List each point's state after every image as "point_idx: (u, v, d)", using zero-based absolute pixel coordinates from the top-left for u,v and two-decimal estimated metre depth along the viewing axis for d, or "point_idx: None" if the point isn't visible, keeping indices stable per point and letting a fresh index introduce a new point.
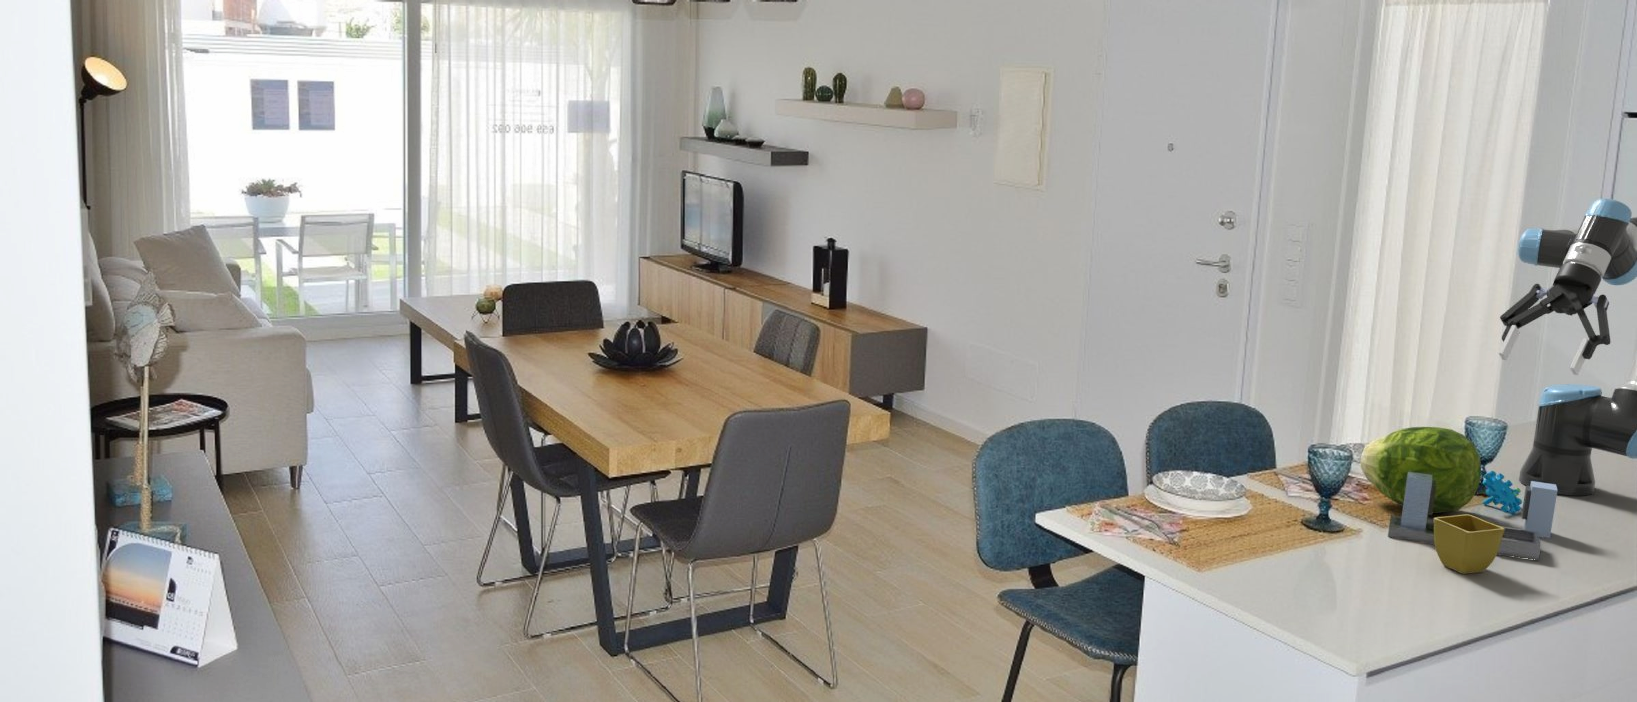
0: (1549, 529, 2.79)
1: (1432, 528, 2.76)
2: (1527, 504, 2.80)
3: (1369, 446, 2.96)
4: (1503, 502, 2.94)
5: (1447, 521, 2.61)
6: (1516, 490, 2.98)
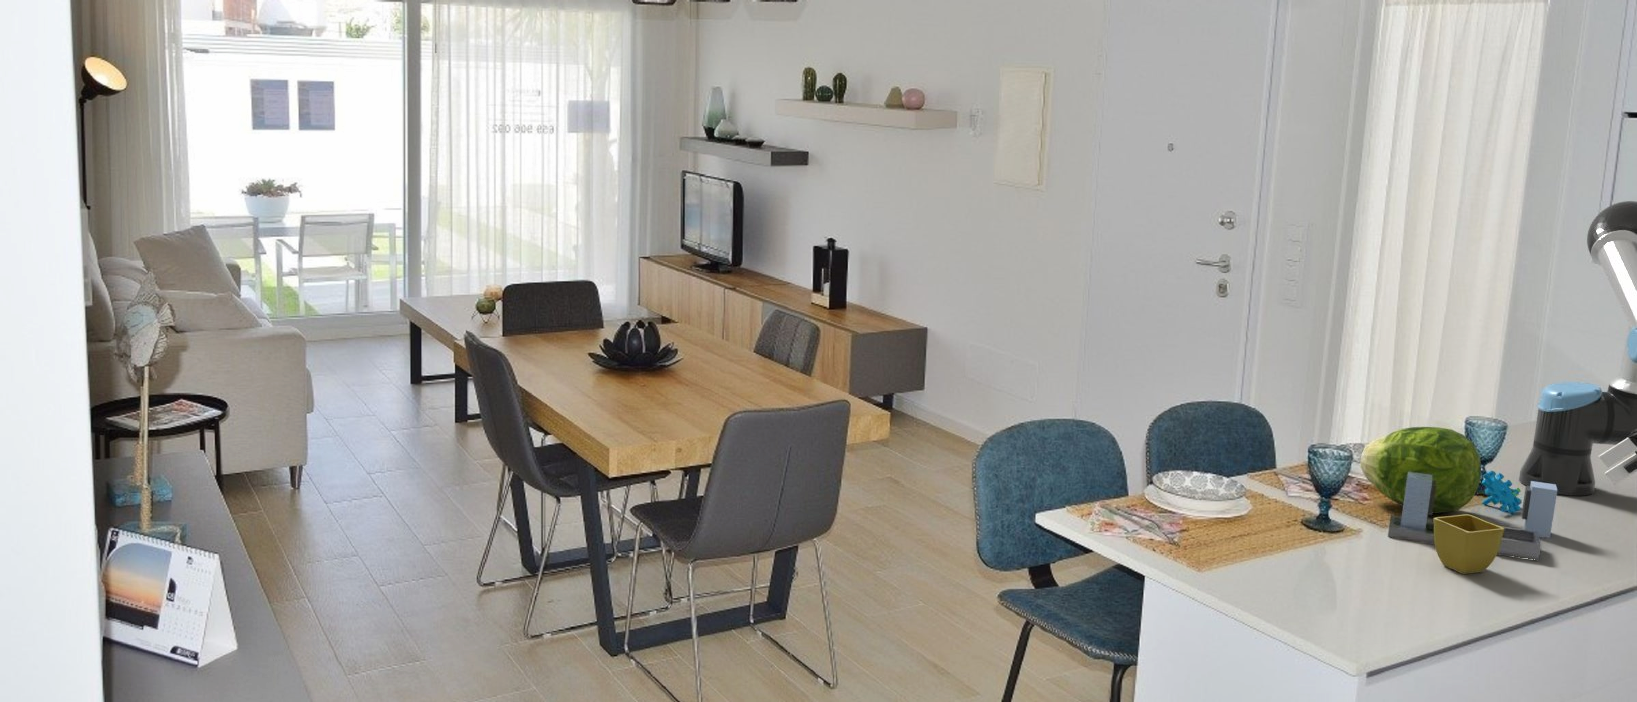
0: (1549, 529, 2.79)
1: (1432, 528, 2.76)
2: (1527, 504, 2.80)
3: (1369, 446, 2.96)
4: (1502, 502, 2.94)
5: (1447, 521, 2.61)
6: (1516, 490, 2.98)
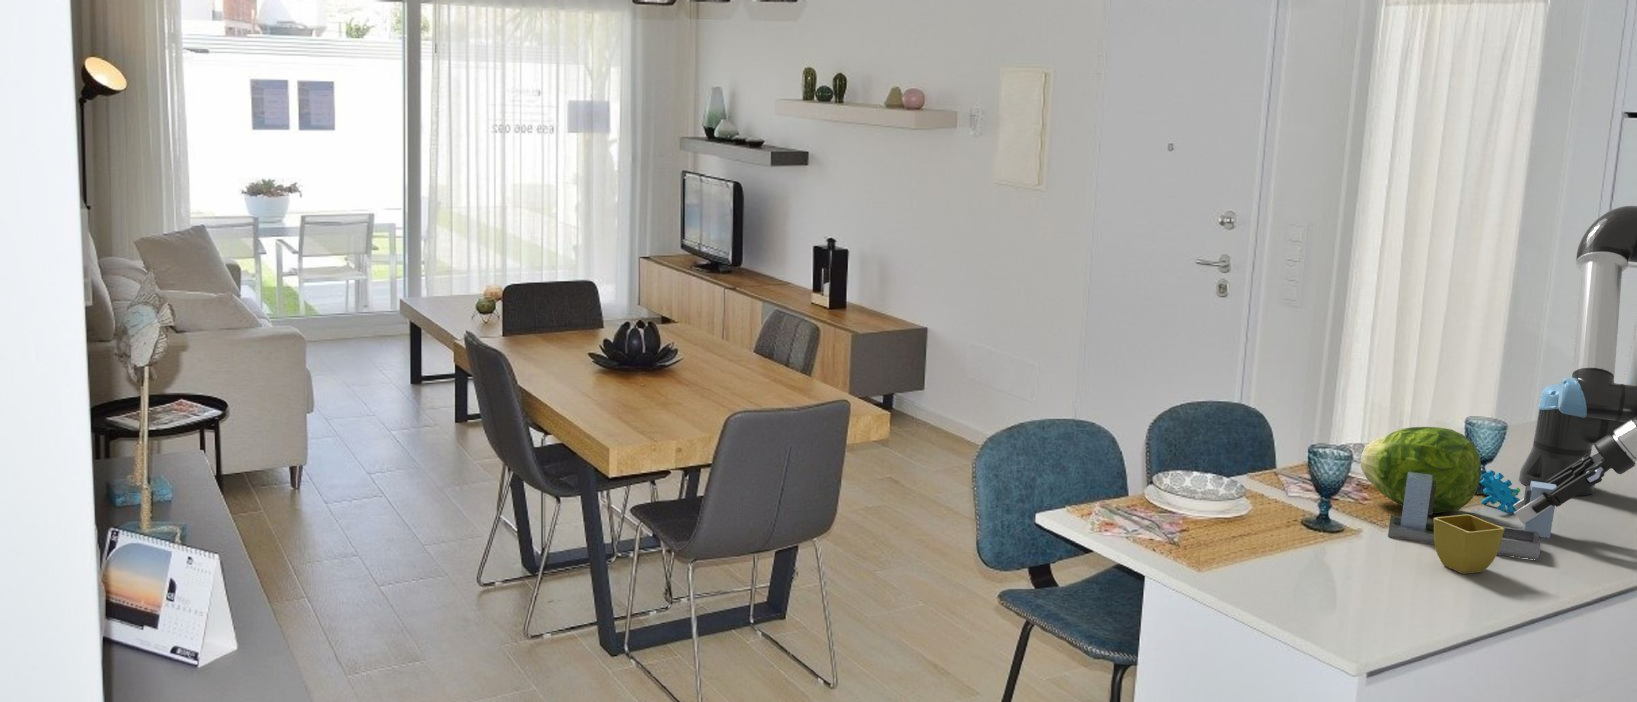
0: (1549, 529, 2.79)
1: (1432, 528, 2.76)
2: None
3: (1369, 446, 2.96)
4: (1501, 501, 2.94)
5: (1447, 521, 2.61)
6: (1515, 490, 2.98)
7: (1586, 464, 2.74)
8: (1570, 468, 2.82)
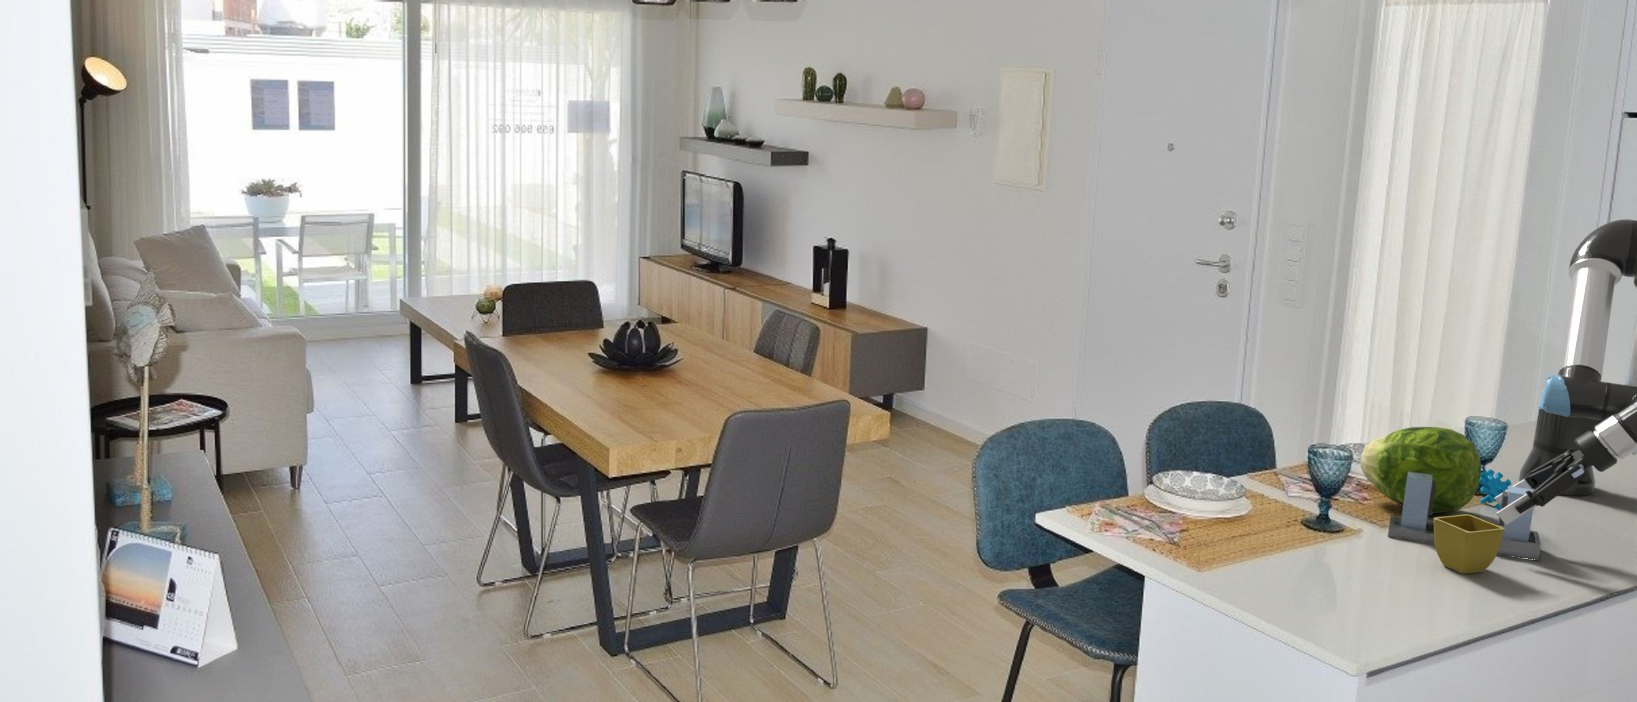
0: (1527, 536, 2.67)
1: (1432, 528, 2.76)
2: None
3: (1369, 446, 2.96)
4: None
5: (1447, 521, 2.61)
6: None
7: (1567, 461, 2.62)
8: (1553, 462, 2.71)
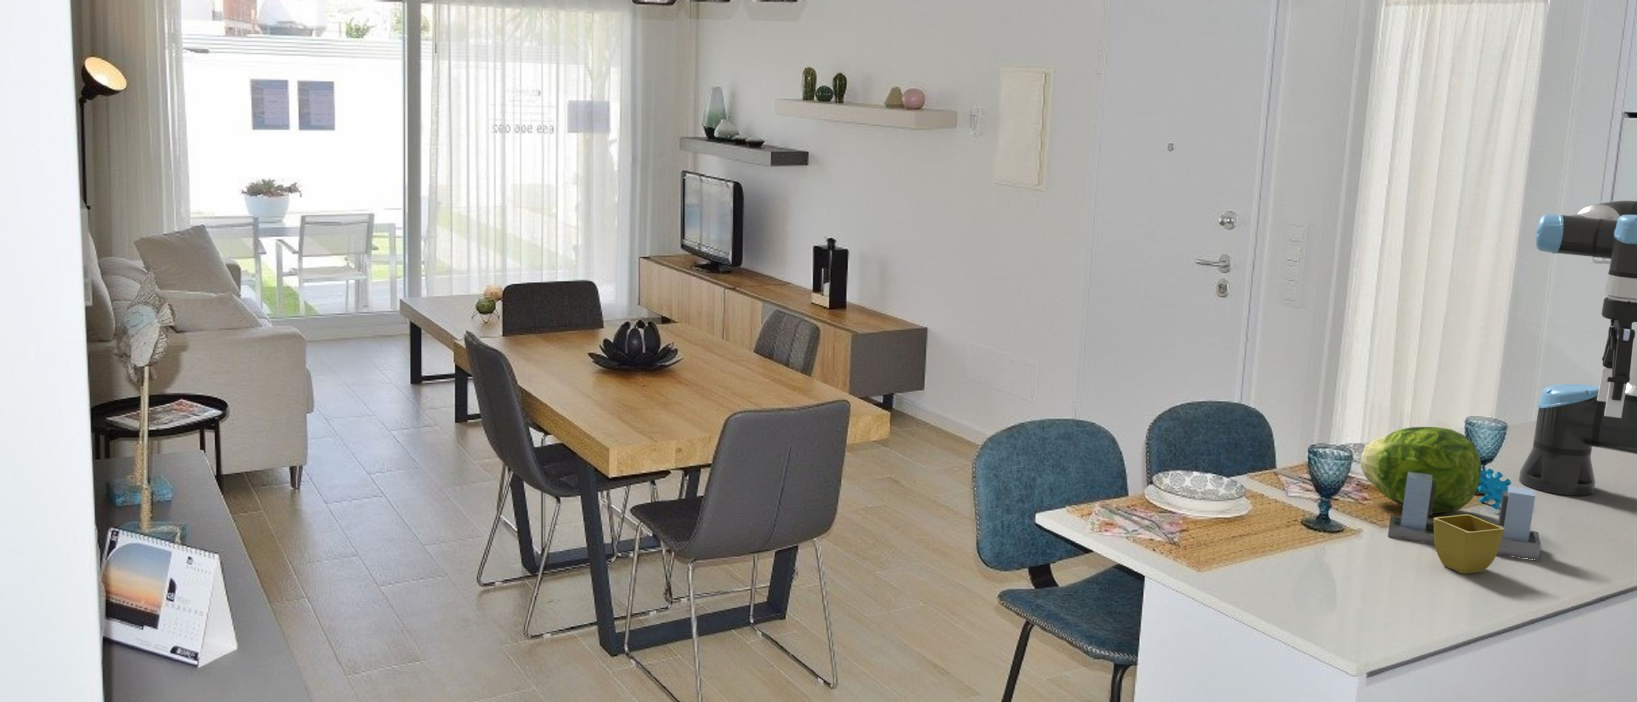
0: (1527, 536, 2.67)
1: (1432, 528, 2.76)
2: (1504, 510, 2.69)
3: (1369, 446, 2.96)
4: (1496, 499, 2.95)
5: (1447, 521, 2.61)
6: None
7: (1612, 334, 2.61)
8: None
